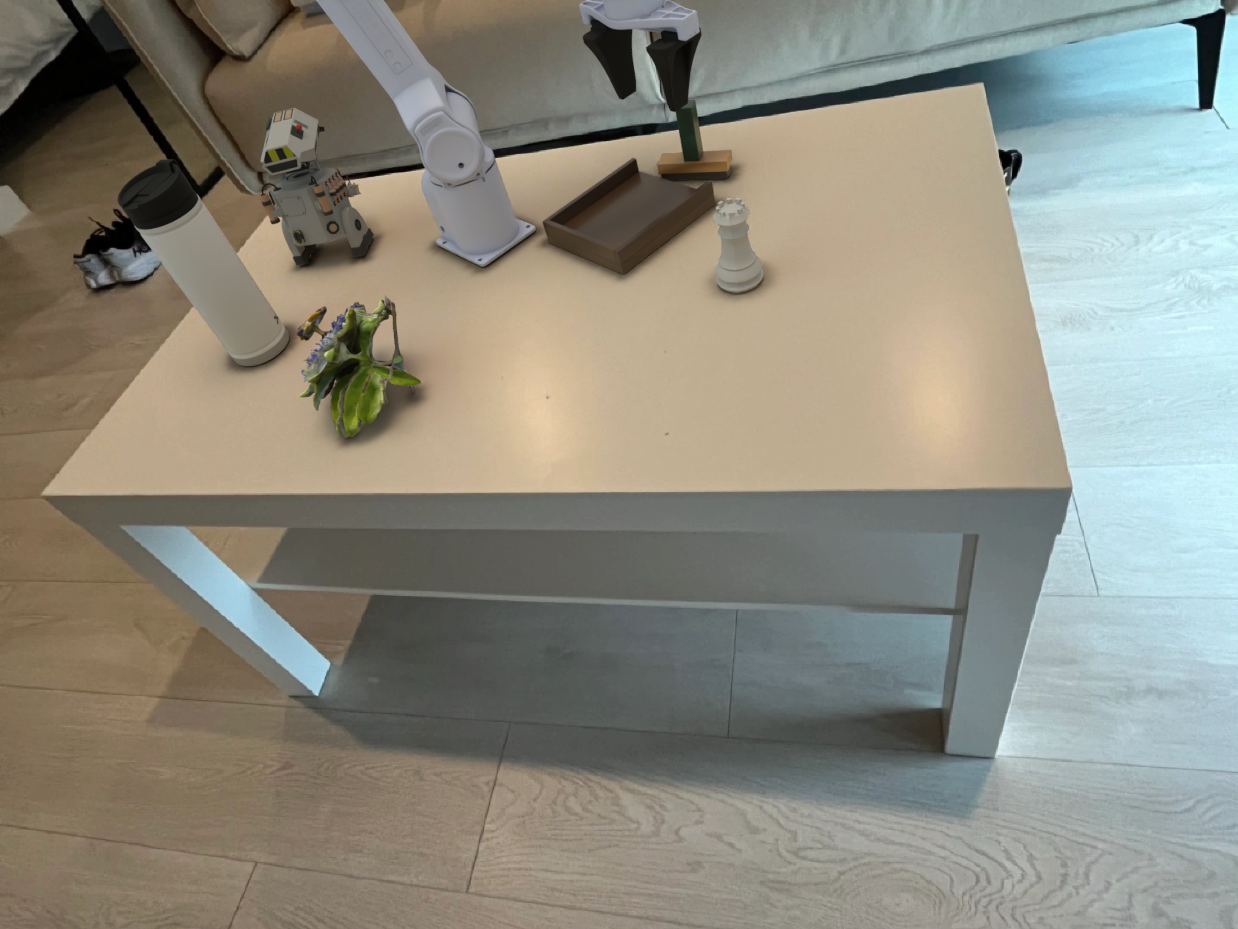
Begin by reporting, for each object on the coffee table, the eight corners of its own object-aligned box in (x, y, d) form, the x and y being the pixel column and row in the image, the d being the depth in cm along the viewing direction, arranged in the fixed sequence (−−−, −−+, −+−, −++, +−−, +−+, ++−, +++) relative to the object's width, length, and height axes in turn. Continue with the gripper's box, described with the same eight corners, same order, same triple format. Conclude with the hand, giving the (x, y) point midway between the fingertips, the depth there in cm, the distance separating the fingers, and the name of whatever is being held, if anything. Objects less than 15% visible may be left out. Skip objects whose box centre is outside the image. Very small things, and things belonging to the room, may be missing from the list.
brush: (660, 182, 92) (645, 111, 86) (665, 170, 94) (652, 100, 88) (729, 179, 89) (719, 106, 83) (733, 168, 91) (724, 95, 85)
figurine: (389, 212, 102) (332, 93, 91) (361, 266, 95) (296, 144, 84) (324, 222, 104) (262, 107, 93) (292, 276, 97) (219, 158, 86)
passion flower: (374, 425, 83) (343, 307, 81) (461, 410, 79) (431, 285, 76) (292, 450, 73) (254, 317, 71) (385, 435, 69) (348, 292, 66)
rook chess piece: (762, 293, 75) (753, 217, 69) (713, 296, 76) (701, 221, 70) (766, 264, 78) (758, 188, 72) (719, 267, 79) (708, 193, 73)
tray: (548, 242, 89) (541, 221, 87) (637, 179, 94) (632, 157, 92) (623, 274, 82) (617, 252, 80) (715, 204, 87) (712, 180, 85)
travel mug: (303, 328, 88) (193, 156, 74) (268, 369, 85) (145, 196, 70) (259, 325, 91) (145, 158, 76) (223, 365, 87) (95, 198, 72)
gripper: (712, -57, 72) (730, 94, 82) (603, -64, 81) (631, 73, 91) (658, -25, 70) (683, 127, 80) (551, -36, 78) (586, 102, 88)
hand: (652, 100), depth 85 cm, fingers open, 7 cm apart
